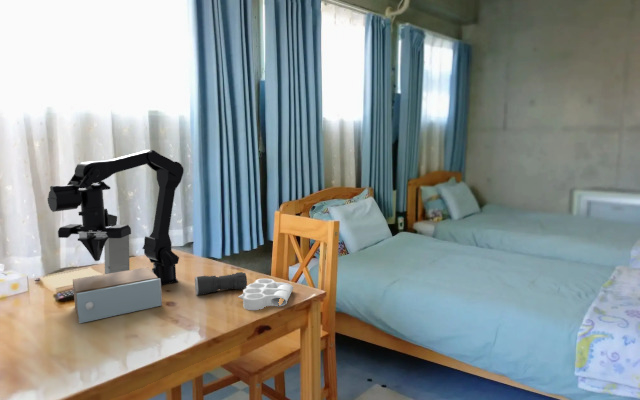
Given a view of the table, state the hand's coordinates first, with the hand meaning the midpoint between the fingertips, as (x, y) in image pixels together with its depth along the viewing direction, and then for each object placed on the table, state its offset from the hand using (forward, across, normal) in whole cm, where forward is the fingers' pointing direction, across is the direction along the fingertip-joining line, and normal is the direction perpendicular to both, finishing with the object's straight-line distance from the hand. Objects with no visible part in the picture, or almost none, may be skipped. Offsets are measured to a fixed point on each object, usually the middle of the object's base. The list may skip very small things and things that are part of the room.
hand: (97, 260), depth 125 cm
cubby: (+12, -7, +4) cm, 14 cm away
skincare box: (+12, +7, -21) cm, 25 cm away
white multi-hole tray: (+13, -47, -5) cm, 49 cm away
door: (+12, -12, +9) cm, 19 cm away
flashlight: (+12, -32, -10) cm, 36 cm away
